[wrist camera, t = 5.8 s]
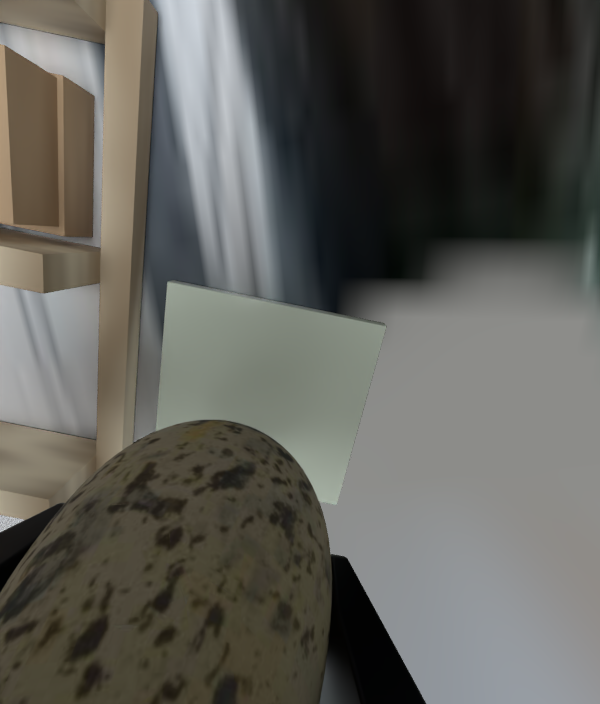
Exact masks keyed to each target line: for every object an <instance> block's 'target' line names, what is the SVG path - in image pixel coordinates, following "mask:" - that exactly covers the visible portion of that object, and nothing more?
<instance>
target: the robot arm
mask: <svg viewBox="0 0 600 704" xmlns="http://www.w3.org/2000/svg"><path fill="white" fill-rule="evenodd" d="M64 504H65V503H58V504H56V505H54V506H52V507H50V508H48V509H46V510H44V511H42V512H40V513H38V514H36V515H34V516H32V517H30V518H28V519H26V520H24V521H22V522H20V523H18V524H16V525H14V526H12V527H10V528H8V529H6V530H4V531H2V532H0V592H1V591H2V589H3V587H4V586H5V584H6V583H7V581H8V579H9V578H10V576H11V575H12V573H13V572H14V570H15V569H16V567H17V566H18V564H19V563H20V561H21V560H22V559H23V557H24V556H25V554H26V553H27V552H28V550H29V549H30V547H31V546H32V545H33V543H34V542H35V540H36V539H37V538H38V537H39V535H40V534H41V533H42V531H43V530H44V529H45V527H46V526H47V525H48V523H49V522H50V521H51V519H52V518H53V517H54V516H55V514H56V513H57V512H58V511H59V510H60V509H61V507H62V506H63V505H64ZM330 556H331V570H332V606H331V622H330V633H329V644H328V652H327V659H326V667H325V674H324V680H323V686H322V692H321V698H320V703H319V704H426V703H425V701H424V699H423V697H422V695H421V693H420V691H419V690H418V688H417V686H416V684H415V682H414V680H413V678H412V677H411V675H410V673H409V671H408V670H407V668H406V666H405V664H404V662H403V660H402V658H401V656H400V655H399V653H398V651H397V649H396V647H395V646H394V644H393V642H392V640H391V638H390V636H389V634H388V632H387V631H386V629H385V627H384V625H383V623H382V621H381V620H380V618H379V616H378V614H377V612H376V610H375V609H374V607H373V605H372V603H371V601H370V599H369V597H368V596H367V594H366V592H365V590H364V588H363V586H362V585H361V583H360V581H359V579H358V577H357V576H356V574H355V572H354V570H353V568H352V566H351V564H350V563H349V561H348V559H347V558H346V557H344V556H339V555H333V554H331V555H330Z"/></svg>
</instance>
